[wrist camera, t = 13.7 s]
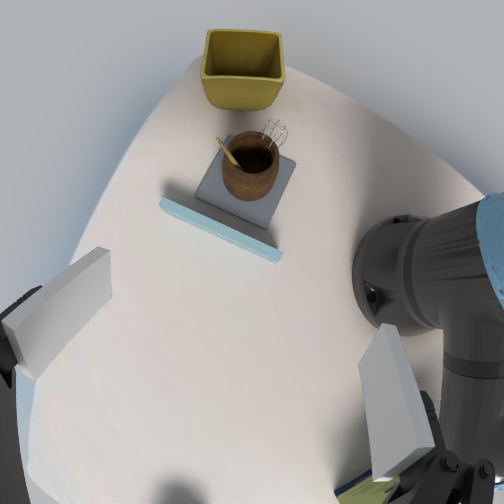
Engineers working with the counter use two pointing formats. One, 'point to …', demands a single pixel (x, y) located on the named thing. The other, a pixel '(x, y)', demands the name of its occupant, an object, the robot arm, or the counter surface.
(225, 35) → the flower pot
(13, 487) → the robot arm
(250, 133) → the utensil holder
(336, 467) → the counter surface
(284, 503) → the counter surface
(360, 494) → the protein box
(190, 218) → the acrylic wall
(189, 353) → the counter surface
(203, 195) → the slate pad
